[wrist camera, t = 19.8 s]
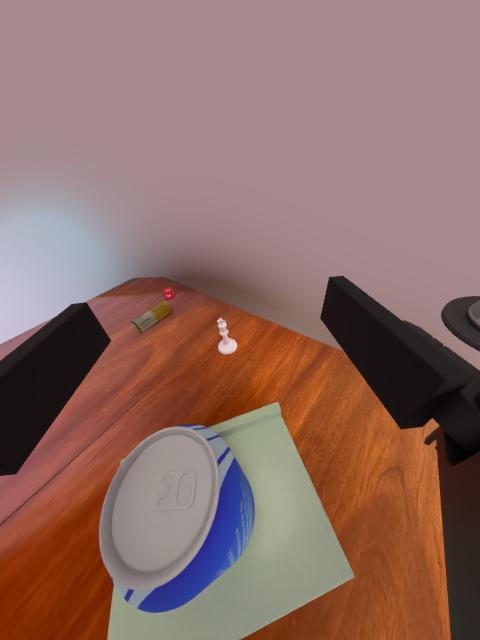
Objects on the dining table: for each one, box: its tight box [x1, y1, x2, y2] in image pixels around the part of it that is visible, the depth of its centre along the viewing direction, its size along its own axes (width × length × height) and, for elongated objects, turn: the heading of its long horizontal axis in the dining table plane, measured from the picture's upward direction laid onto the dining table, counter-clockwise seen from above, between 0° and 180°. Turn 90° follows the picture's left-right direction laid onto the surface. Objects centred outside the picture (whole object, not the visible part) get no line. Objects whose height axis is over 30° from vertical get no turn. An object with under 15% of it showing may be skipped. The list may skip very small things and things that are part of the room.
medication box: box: [132, 301, 172, 333], centre depth 60 cm, size 12×3×4 cm, turn 140°
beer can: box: [99, 424, 255, 613], centre depth 16 cm, size 8×8×16 cm
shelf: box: [107, 402, 355, 640], centre depth 23 cm, size 16×22×10 cm
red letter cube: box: [163, 288, 175, 300], centre depth 70 cm, size 3×3×3 cm
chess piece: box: [217, 318, 237, 354], centre depth 46 cm, size 5×5×10 cm
